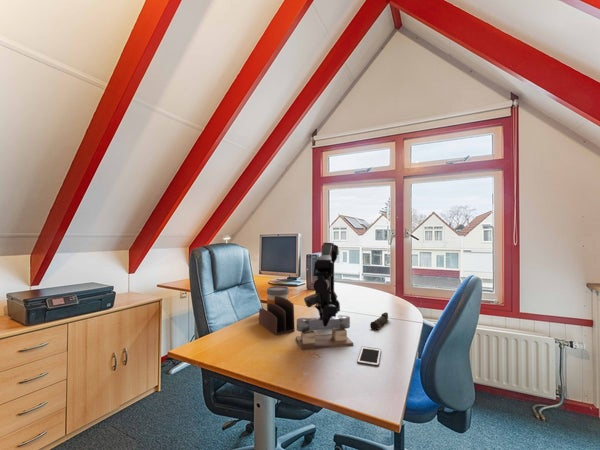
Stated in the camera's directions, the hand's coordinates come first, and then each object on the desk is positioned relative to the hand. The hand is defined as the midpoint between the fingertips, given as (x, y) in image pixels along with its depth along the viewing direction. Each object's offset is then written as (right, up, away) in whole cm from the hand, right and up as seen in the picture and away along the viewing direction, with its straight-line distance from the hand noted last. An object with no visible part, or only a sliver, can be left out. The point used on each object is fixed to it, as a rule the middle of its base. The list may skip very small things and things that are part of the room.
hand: (323, 324), depth 123 cm
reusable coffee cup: (-23, -8, +39) cm, 46 cm away
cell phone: (+16, -8, -14) cm, 23 cm away
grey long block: (0, -1, 0) cm, 1 cm away
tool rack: (0, -7, 0) cm, 7 cm away
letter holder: (-22, -8, +18) cm, 30 cm away
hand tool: (+31, -8, +23) cm, 39 cm away
